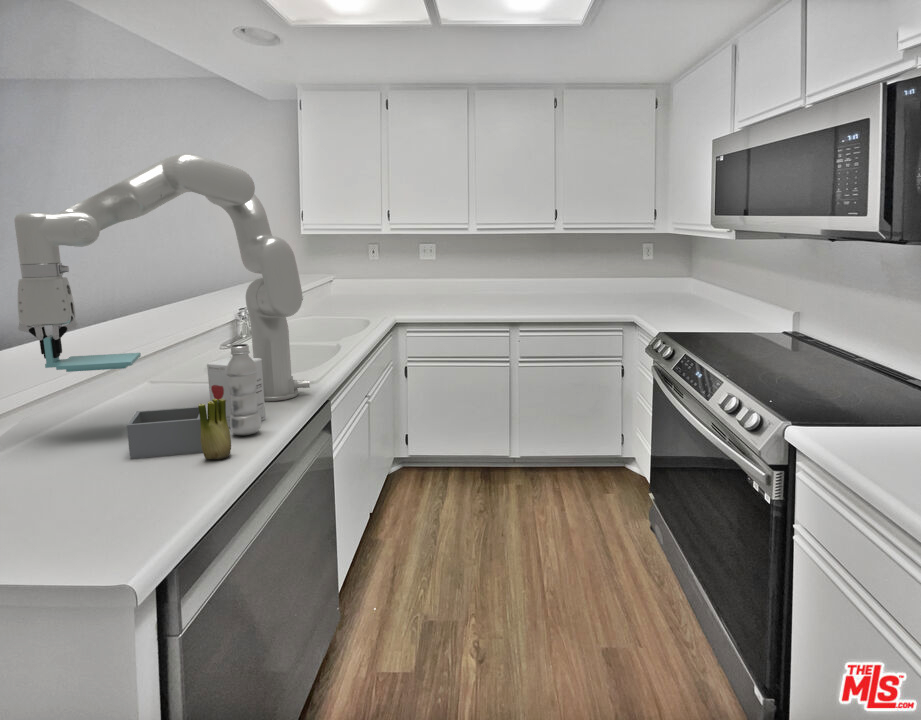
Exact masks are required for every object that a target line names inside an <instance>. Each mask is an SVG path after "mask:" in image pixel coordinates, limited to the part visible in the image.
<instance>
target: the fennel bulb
mask: <svg viewBox="0 0 921 720" xmlns="http://www.w3.org/2000/svg"><path fill="white" fill-rule="evenodd" d="M212 401H213V402H212ZM212 401H210V400H209V401H208V402H207V407H206V408H205V406H206V404H205V403H199V404H198V406H197V407H198V408H199V414H200V425H201V446H202V451H203V452H202V453H203V456H204V458H205V460H214V461H215V460H217V461H218V460H223V459H226V458H228V457H229V456H230V455H231V450H232V438H231V437H232V436H231V430H230V428H229V427H228V424H227V419H226V400H225V399H219V400H218V399H212Z"/></svg>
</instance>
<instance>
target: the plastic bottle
mask: <svg viewBox="0 0 921 720" xmlns="http://www.w3.org/2000/svg"><path fill="white" fill-rule="evenodd" d="M249 354H251V352H250V348H249V344H247V343H237V344H232V345H230V355H231V357H232V358H231V360H230V361H229V363H228V365H227V368H226V375H227V379H228V383H229V388H230V394H231V415H230V428H229V429H230V432H231V433H233V434H234V435H235V436H250V435H253V434H256V433H258V432H259V431H260V429H261V425H262V421H261V418H260V414H259V412H258V405H257V398H256V382H257V366H256V364H255V362H254V361H253V360H252V359H251V358H252V357H251V356H250V355H249Z"/></svg>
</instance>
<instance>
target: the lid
mask: <svg viewBox="0 0 921 720" xmlns="http://www.w3.org/2000/svg"><path fill="white" fill-rule="evenodd" d="M47 336H48V337H46V338H44V339H43V340H44V348H45V356H46V359H45V364H44V367H45V369H48V368H49V369H50V368H52V369H53V368H55V369H56V370H57V371H62V370H63V371H64V370H65V371H66V373H71V372H87V371H89V372H90V371H105V370H122V369H123V370H124V369H127V368H128V367H129V366H133V365H134V363H136V361H137V360H138V359H140V357H142V355H141V352H127V353H125V352H124V353H109V354H89V355H74V356H70V357H68V358H62V359H60V356H59V357H57V358H54V357H53V350H52V342H51V340H52V337H53V334H49V335H47Z"/></svg>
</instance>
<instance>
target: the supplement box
mask: <svg viewBox="0 0 921 720" xmlns="http://www.w3.org/2000/svg"><path fill="white" fill-rule="evenodd" d="M231 358H232V355H231V356H228V357H224V358H221V359H218V360H214V361H210V362H208V363H207V364H206V368H207V378H208V389H209V390H208V391H209V392H208V393H209V401H212V399H218V400H219V399H225V400H226V419H227V424H228V427H229V429H231V428H230V415H231V394H230V388H229V383H228V379H227V375H226V368H227V365H228V363H229V361H230V360H231ZM250 358H251V359H252V360H253V361H254V362H255V364H256V366H257V382H256V398H257V405H258V412H259V414H260V418H261V422H262V421H265V420H266V411H265V408H266V407H265V401H264V390H263V375H262V359H260V358H253V357H250ZM212 402H213V401H212Z"/></svg>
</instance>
